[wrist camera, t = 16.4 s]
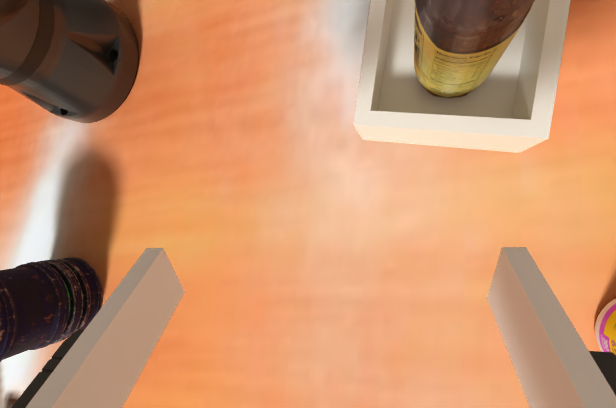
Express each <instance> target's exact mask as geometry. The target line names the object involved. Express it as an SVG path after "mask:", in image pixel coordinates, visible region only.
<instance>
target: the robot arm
mask: <svg viewBox="0 0 616 408" xmlns="http://www.w3.org/2000/svg"><path fill="white" fill-rule="evenodd" d="M137 64H138V46H137V40H136V36H135V33H134V30H133V28H132V26H131V24H130V22H129V21H128V19H127V18H126V17H125V15H124V14H123V13H122V12H120V11H119V10H118V9H116V8H115V7H113V6H112V5H110V4H109V3H108V2H106V1H105V0H0V84H2V85H5V86H8V87H10V88H12V89H13V90H15V91H17V92H18V93H20V94H22V95H23V96H25V97H26V98H28V99H30V100H31V101H33V102H35V103H36V104H38V105H40V106H41V107H43V108H44V109H46V110H48V111H49V112H51V113H53V114H55V115H57V116H59V117H62V118H65V119H69V120H73V121H77V122H81V123H91V122H96V121H99V120H102V119H104V118H106V117H107V116H109V115H110V114H112V113H113V112H114V111H115V110H116V109H117V108H118V107H119V106H120V105H121V104H122V102H123V101H124V100H125V98H126V97H127V95H128V93H129V91H130V89H131V87H132V84H133V82H134V79H135V75H136V71H137ZM184 292H185V291H184V289H183V287H182V285H181V283H180V281H179V279H178V277H177V275H176V273H175V271H174V269H173V267H172V265H171V263H170V261H169V259H168V257H167V255H166V253H165V251H164V249H163V248H146V250H145V251H144V252H143V254H142V255H141V256H140V258H139V259H138V260H137V262H136V263H135V264H134V266H133V267H132V268H131V269H130V271H129V272H128V273H127V275H126V276H125V277H124V279H123V280H122V281H121V283H120V284H119V285H118V287H117V288H116V289H115V291H114V292H113V293H112V294H111V296H110V297H109V298H108V300H107V301H106V302H105V304H104V305H103V306H102V308H101V309H100V310H99V312H98V313H97V314H96V316H95V317H94V318H93V319H92V321H91V322H90V323H89V325H88V326H87V327H86V329H78V330H77V331H76V332H75V333H74V334H72V335H71V336H70V337H69V338H68V339H66V340H65V341H64V342H63V343H62V345H61V346H60V347H59V348H58V350H57V351H56V352H55V353H54V355H53V356H52V359H51V360H49V361H48V362H47V363H46V365H45V366H44V367H43V369H42V372H39V374H38V375H37V376H36V377H35V379H34V380H33V381H32V382H31V384H30V385H29V386H28V387H27V389H26V390H25V391H24V392H23V394H22V395H21V396H20V398H19V399H18V400H17V401H16V403H15V404H14V405H13V406H12V408H122V407H123V405H124V404H125V402H126V400H127V398H128V396H129V394H130V392H131V391H132V389H133V387H134V385H135V383H136V381H137V380H138V378H139V376H140V374H141V372H142V370H143V368H144V367H145V365H146V363H147V361H148V359H149V357H150V355H151V354H152V352H153V350H154V348H155V346H156V344H157V342H158V341H159V339H160V337H161V335H162V333H163V331H164V329H165V328H166V326H167V324H168V322H169V320H170V318H171V316H172V315H173V313H174V311H175V309H176V307H177V305H178V303H179V302H180V300H181V298H182V296H183V294H184ZM487 300H488V302H489V305H490V307H491V310H492V313H493V315H494V318H495V320H496V323H497V325H498V328H499V330H500V333H501V335H502V338H503V341H504V343H505V346H506V348H507V351H508V353H509V356H510V358H511V361H512V363H513V366H514V368H515V371H516V374H517V376H518V379H519V381H520V384H521V386H522V389H523V391H524V394H525V396H526V399H527V402H528V404H529V407H530V408H616V355H615V354H614V353H613V352H596V351H588V349H587V348H586V346H585V344H584V343H583V341H582V339H581V338H580V336H579V334H578V333H577V331H576V329H575V328H574V326H573V324H572V323H571V321H570V319H569V318H568V316H567V315H566V313H565V311H564V310H563V308H562V306H561V305H560V303H559V301H558V300H557V298H556V296H555V295H554V293H553V291H552V290H551V288H550V286H549V285H548V283H547V281H546V280H545V278H544V277H543V275H542V273H541V272H540V270H539V268H538V267H537V265H536V263H535V262H534V260H533V258H532V257H531V255H530V253H529V252H528V250H527V248H526V247H502V249H501V252H500V256H499V259H498V263H497V266H496V269H495V273H494V276H493V280H492V283H491V286H490V290H489V293H488V297H487Z"/></svg>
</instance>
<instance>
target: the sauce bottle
mask: <svg viewBox="0 0 616 408" xmlns="http://www.w3.org/2000/svg"><path fill="white" fill-rule="evenodd" d="M534 1H535V0H415V24H414V29H415V30H414V69H415V73H416V76H417V78H418V80H419V82H420V83H421V85H422V86H423V87H424V88H425V90H427V91H428V92H429V93H430V94H431V95H433V96H436V97H441V98H456V97H458V98H459V97H463V96H466V95H467V94H468V93H470V92H471V91H473V90H474V89H476V88H477V87H478V86H479V85H481V84H482V83H483V82H484V81H485V80H486V79H487V77H488V76H489V75H490V73H491V72H492V70H493V68H494V67H495V65H496V64H497V62H498V61H499V59H500V58H501V56H502V55H503V53H504V52H505V50H506V49H507V47H508V45H509V44H510V42H511V41H512V39H513V38H514V36H515V35H516V33H517V32H518V30H519V28H520V27H521V25H522V24H523V22H524V20H525V18H526V17H527V15H528V13H529V12H530V9H531V7H532V4H533V3H534Z"/></svg>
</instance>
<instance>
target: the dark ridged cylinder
mask: <svg viewBox="0 0 616 408" xmlns="http://www.w3.org/2000/svg"><path fill="white" fill-rule="evenodd" d="M101 307H102V287H101V283H100V280H99V278H98V276H97V274H96V272H95V271H94V269H93V268H92V267H91V266H90V265H89V264H88V263H87V262H85V261H84V260H82V259H79V258H65V259H62V260H45V261H39V262H31V263H27V264H23V265H20V266H17V267H16V268H13V269H7V270H0V362H1V361H2V360H3V359H6V358H8V357H11V356H14V355H16V354H19V353H22V352H24V351H27V350H36V349H39V348H43V347H46V346H48V345H49V344H53V343H56V342H59V341H61V340H64V339H66V338H68V337H69V336H71V335H72V334H74V333H75V332H76V331H77V330H78V329H86V327H87V326H88V325H89V323H90V322H91V321H92V319H93V318H94V317H95V316H96V314H97V313H98V312H99V310H100V309H101Z"/></svg>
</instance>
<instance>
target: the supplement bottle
mask: <svg viewBox="0 0 616 408" xmlns="http://www.w3.org/2000/svg"><path fill="white" fill-rule="evenodd" d="M595 336H596V341H597V344H598V346H599V348H600V350H601V351H602V352H613V353H614V354H615V355H616V299H614V300H612V301H611V302H609V303H608V304H607V305H606V306H605V307H604V308H603V309H602V311H601V312H600V314H599V315H598V318H597V320H596V324H595Z"/></svg>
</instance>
